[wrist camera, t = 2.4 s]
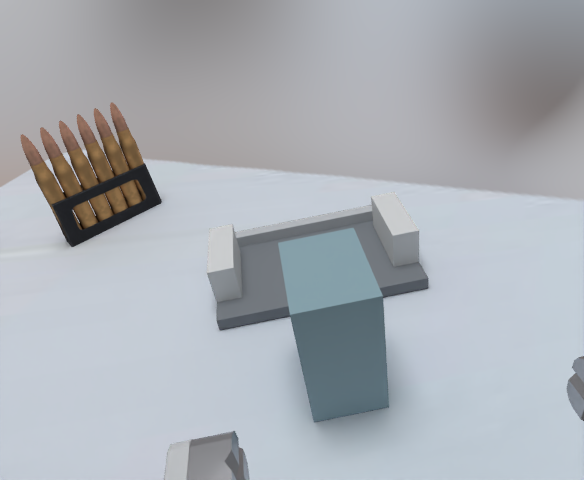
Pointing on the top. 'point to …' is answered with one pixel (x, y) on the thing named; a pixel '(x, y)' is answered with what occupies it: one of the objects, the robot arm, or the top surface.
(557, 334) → the top surface
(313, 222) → the mounting board
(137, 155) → the ammunition clip
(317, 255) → the block
